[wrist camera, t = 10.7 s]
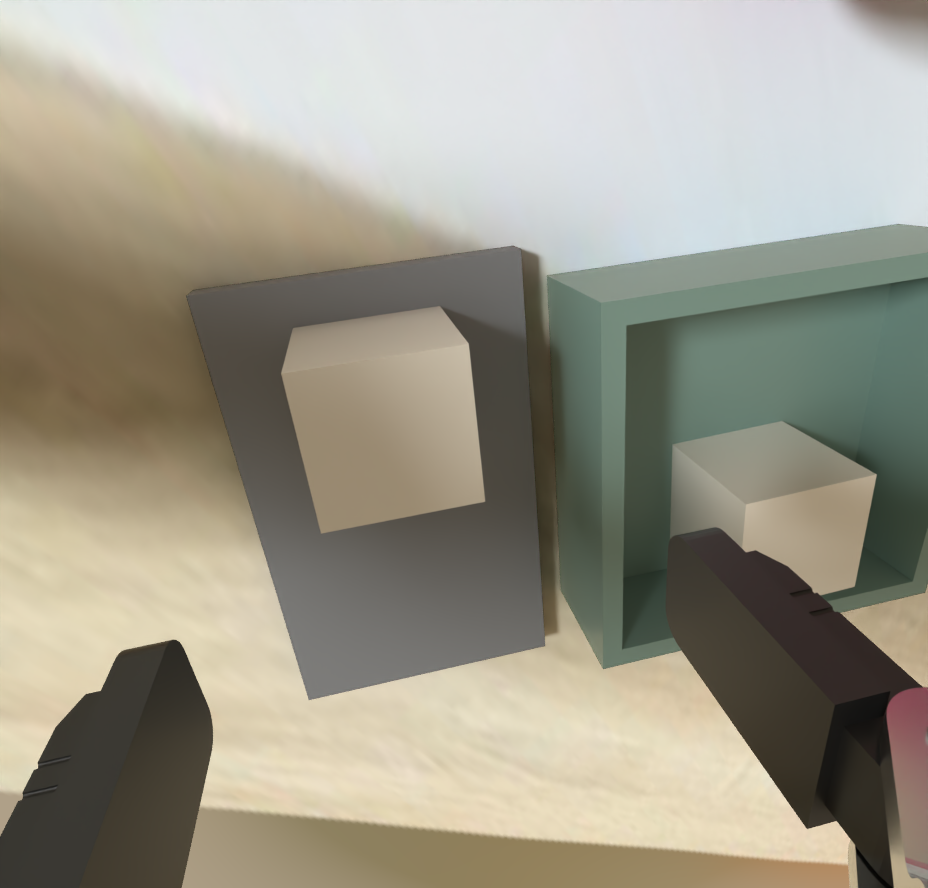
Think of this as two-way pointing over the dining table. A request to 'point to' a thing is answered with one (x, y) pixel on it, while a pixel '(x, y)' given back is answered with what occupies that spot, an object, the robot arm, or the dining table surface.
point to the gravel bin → (734, 405)
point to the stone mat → (400, 540)
